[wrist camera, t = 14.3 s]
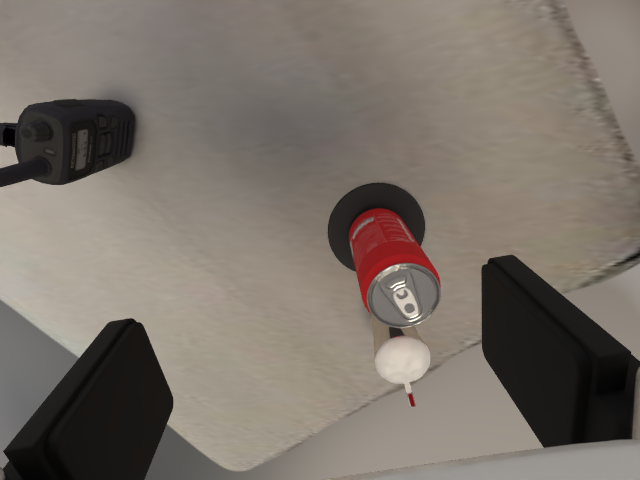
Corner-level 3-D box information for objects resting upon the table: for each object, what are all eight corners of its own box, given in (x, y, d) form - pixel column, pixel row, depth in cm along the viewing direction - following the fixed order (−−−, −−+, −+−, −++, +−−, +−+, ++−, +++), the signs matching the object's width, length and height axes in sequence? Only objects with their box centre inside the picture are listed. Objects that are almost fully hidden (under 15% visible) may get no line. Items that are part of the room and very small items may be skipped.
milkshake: (368, 337, 40) (385, 411, 31) (360, 293, 38) (374, 359, 29) (411, 329, 40) (441, 402, 31) (405, 284, 38) (434, 348, 29)
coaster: (336, 280, 38) (336, 281, 37) (320, 192, 34) (320, 193, 34) (427, 265, 37) (428, 267, 37) (419, 174, 34) (421, 175, 34)
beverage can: (389, 194, 34) (425, 245, 23) (412, 241, 36) (456, 310, 25) (338, 221, 35) (348, 282, 24) (363, 266, 37) (384, 343, 26)
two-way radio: (133, 168, 33) (2, 224, 19) (80, 153, 33) (-93, 200, 19) (140, 103, 31) (1, 115, 18) (85, 87, 31) (-104, 85, 17)
